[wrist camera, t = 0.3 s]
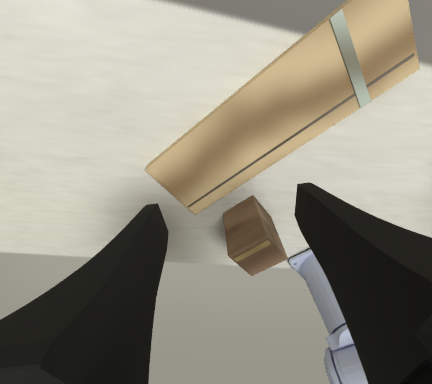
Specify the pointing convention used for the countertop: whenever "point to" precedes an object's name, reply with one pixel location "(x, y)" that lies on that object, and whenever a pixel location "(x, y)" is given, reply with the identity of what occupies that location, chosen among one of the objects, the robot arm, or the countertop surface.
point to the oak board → (292, 101)
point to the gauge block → (252, 237)
